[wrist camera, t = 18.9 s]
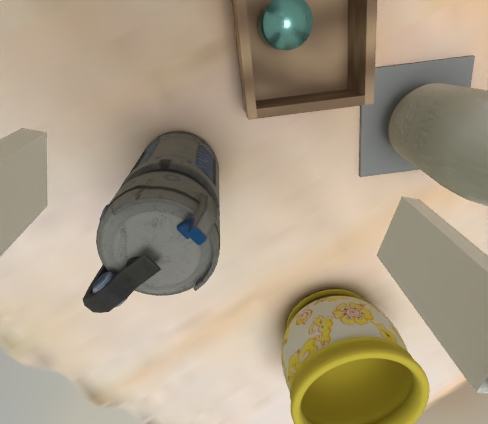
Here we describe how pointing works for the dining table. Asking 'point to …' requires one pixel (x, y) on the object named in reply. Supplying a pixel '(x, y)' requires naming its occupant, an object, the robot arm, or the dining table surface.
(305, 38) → the teal tin
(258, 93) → the walnut crate
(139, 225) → the beverage bottle
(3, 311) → the dining table surface
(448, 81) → the grey mat
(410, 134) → the grey vase
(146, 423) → the dining table surface
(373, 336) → the flowerpot
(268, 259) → the dining table surface
